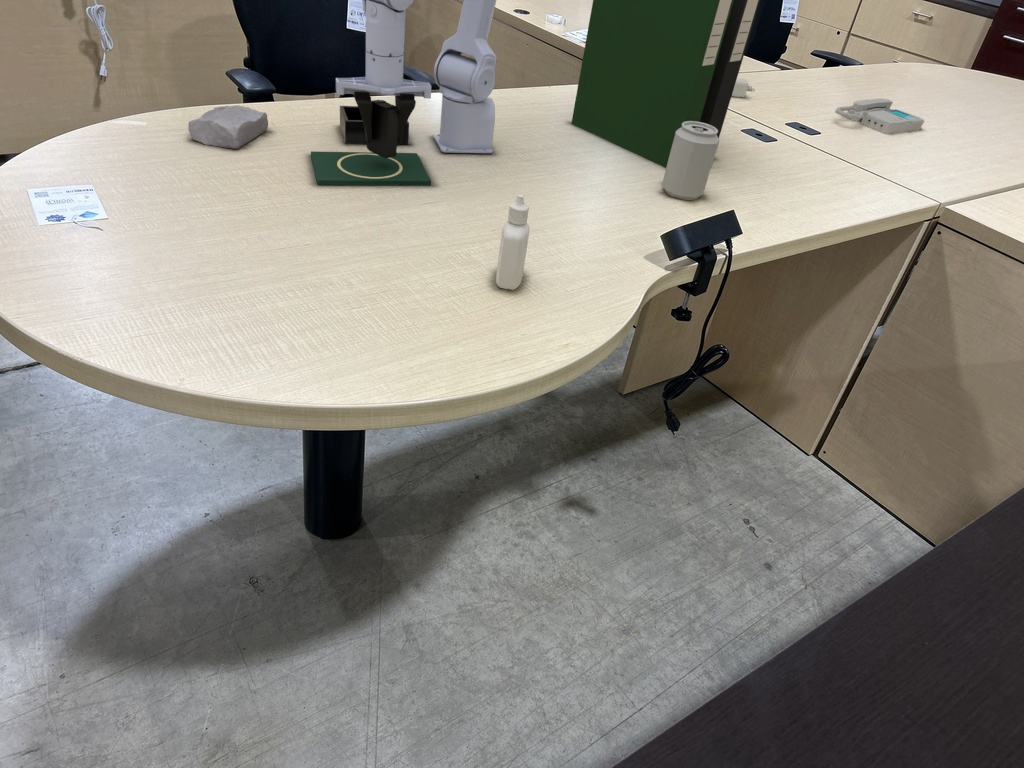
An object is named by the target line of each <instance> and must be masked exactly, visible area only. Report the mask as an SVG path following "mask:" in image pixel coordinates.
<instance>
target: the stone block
mask: <svg viewBox="0 0 1024 768" xmlns="http://www.w3.org/2000/svg"><path fill="white" fill-rule="evenodd" d="M187 125H188V127H187V128H188V132H189V135H190V136H191V139H192V140H194V141H197V142H199V143H201V144H203V145H206V146H212V147H213V146H215V147H220V148H226V149H232V150H233V149H234V150H238V149H240V148H241V147H243V146H245V145H246V144H248V143H249V142H251V141H253V140H255V139H256V138H257V137H258V136H261V135H263V134H264V133H265V132H266V131H267V130H268V128H269V119H268V114H267V112H265V111H263V112H262V111H259V110H257V109H254V108H251V107H248V106H244V105H239V104H238V105H225V106H216V107H214V108H213V109H211V110H208V111H206V112H204V113H203V114H202V115H201V116H200V117H199V118H196V119H192V120H190V121H188V124H187Z"/></svg>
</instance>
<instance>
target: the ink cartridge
mask: <svg viewBox="0 0 1024 768" xmlns="http://www.w3.org/2000/svg"><path fill="white" fill-rule="evenodd" d="M371 102H372V104H373V106H372V120H371V127H372V143H368V142H367V144H366V150H368V152H373V153H375V154H377V155H379V156H381V157H383V158H390V157H395V156H396V154H397V153H398V152H397V151H398V145H397V138H398V125H399V109H398V108H396V106H395V104H392V103H389V102H387V101H386V100H384V99H374V100H373V99H372V100H371Z"/></svg>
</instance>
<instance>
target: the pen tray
mask: <svg viewBox="0 0 1024 768" xmlns="http://www.w3.org/2000/svg"><path fill="white" fill-rule="evenodd" d="M339 129H340V132H341V135H342V138H343V140H344V144H346V145H367V141H366V136H365V129H364V124H363V120H362V117H361V113H360V111H359V108H358V105H339ZM409 134H410V122H409V119H408V120H407V123H406V125H405V128H404V131H403V134H402V138H401V143H397V146H408V145H409V136H410V135H409Z"/></svg>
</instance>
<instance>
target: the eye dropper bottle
mask: <svg viewBox="0 0 1024 768" xmlns="http://www.w3.org/2000/svg"><path fill="white" fill-rule="evenodd" d="M524 197H525V196H524V195H523V194H517V197H516V201H515V202H511V203H510V204H509V209H508V215H507V220H506V221H505V223H504V225H503V226H502V229H501V237H500V245H499V251H498V257H497V267H496V275H495V283H496V285H497V287H498V288H501V289H505V290H510V291H513V290H516V289H517V288H518V287H520V285H521V283H522V281H523V277H524V276H523V275H524V270H525V265H526V264H525V263H526V256H527V249H528V243H529V237H530V226H529V224H528V217H529V210H530V207H529V205H528V204H526V203H525V199H524Z"/></svg>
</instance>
